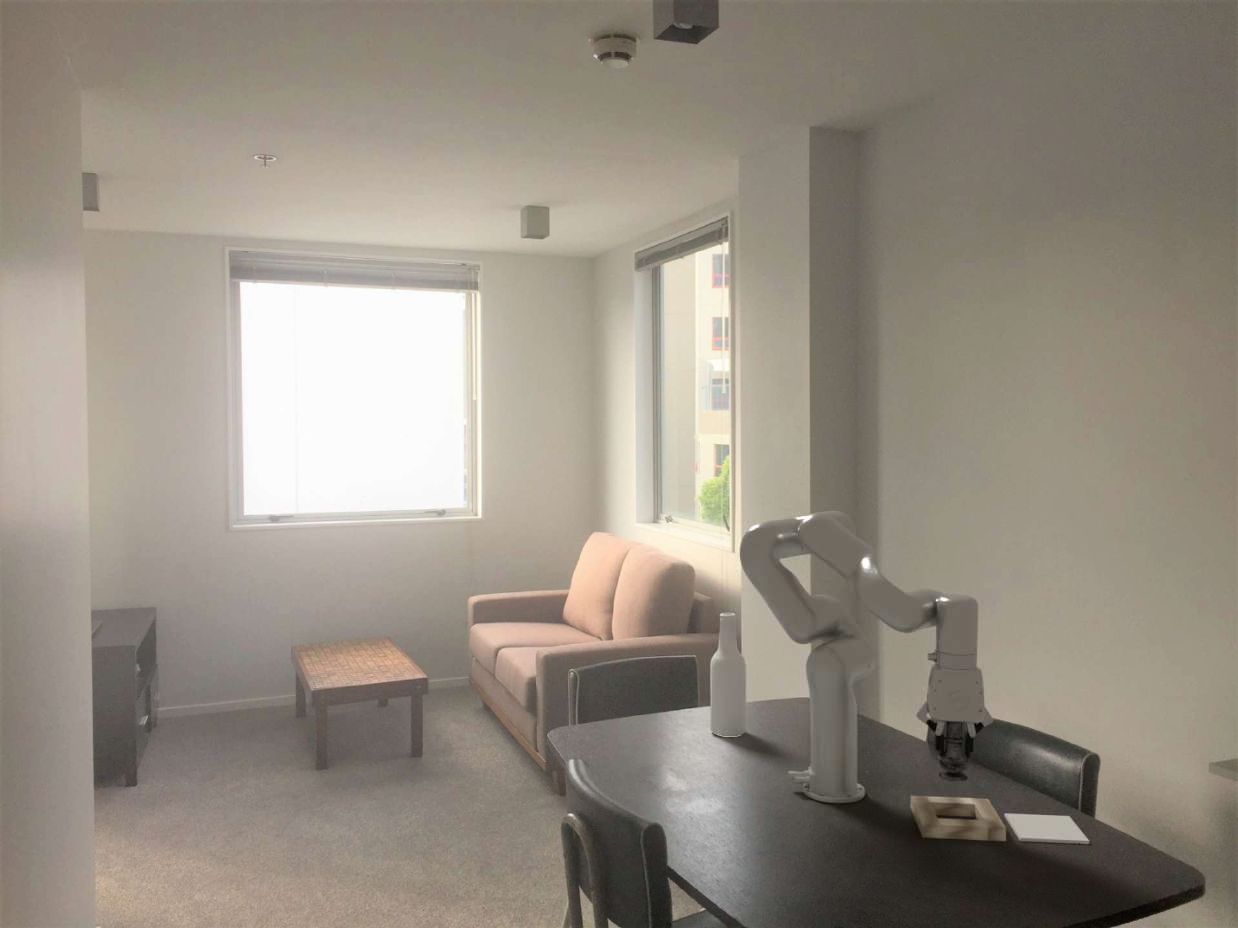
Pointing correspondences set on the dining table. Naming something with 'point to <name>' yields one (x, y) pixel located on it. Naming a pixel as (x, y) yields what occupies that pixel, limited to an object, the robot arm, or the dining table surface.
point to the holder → (979, 829)
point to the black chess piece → (953, 754)
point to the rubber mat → (1046, 828)
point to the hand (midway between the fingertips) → (953, 753)
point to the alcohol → (728, 682)
